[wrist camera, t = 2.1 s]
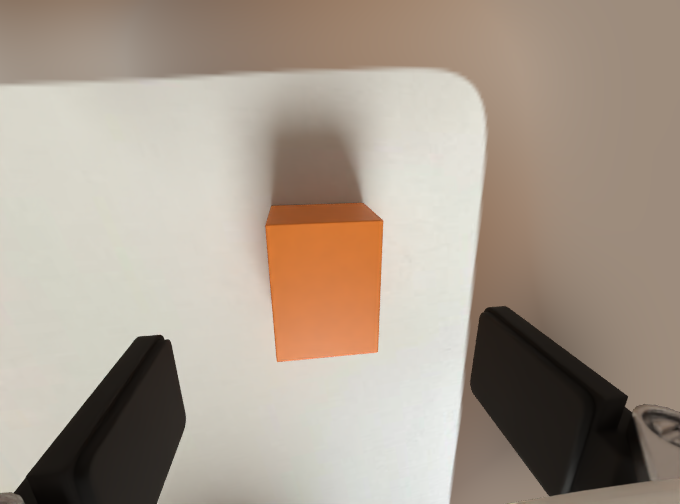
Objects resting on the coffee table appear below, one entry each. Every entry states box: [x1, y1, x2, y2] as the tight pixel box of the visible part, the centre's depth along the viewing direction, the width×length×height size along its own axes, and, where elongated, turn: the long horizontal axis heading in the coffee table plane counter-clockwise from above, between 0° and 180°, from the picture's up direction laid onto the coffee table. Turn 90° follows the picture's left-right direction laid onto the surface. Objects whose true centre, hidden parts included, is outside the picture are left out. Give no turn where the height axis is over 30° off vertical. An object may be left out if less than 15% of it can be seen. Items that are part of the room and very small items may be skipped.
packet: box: [265, 203, 383, 362], centre depth 15 cm, size 4×6×4 cm
